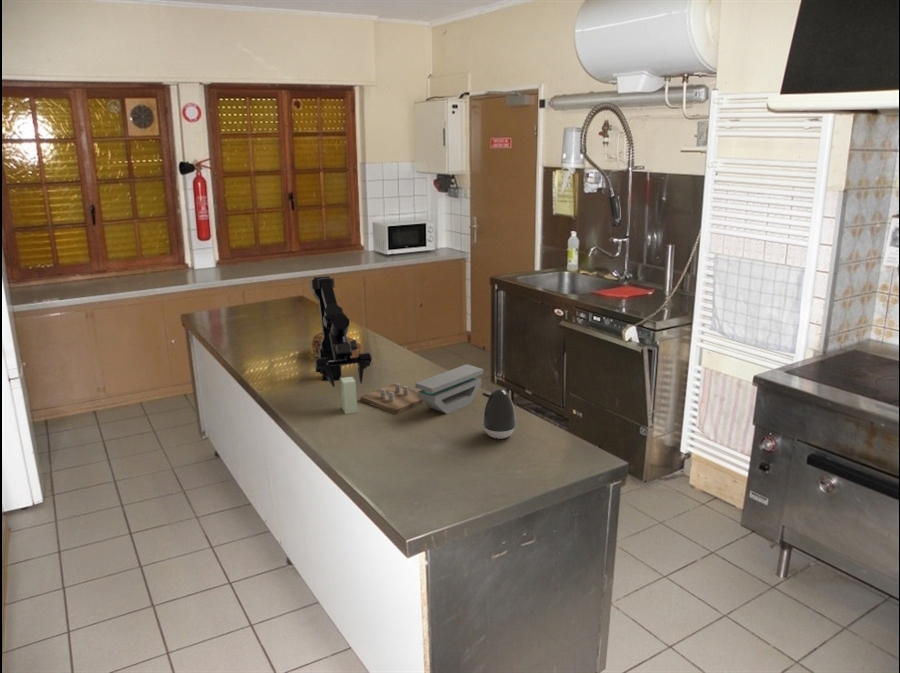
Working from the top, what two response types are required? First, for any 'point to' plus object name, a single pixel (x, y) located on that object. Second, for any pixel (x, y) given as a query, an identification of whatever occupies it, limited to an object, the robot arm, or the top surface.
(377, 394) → the tan board with pegs
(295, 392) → the top surface
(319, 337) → the bread
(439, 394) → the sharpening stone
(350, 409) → the pale panelled upright block
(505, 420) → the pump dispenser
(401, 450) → the top surface
